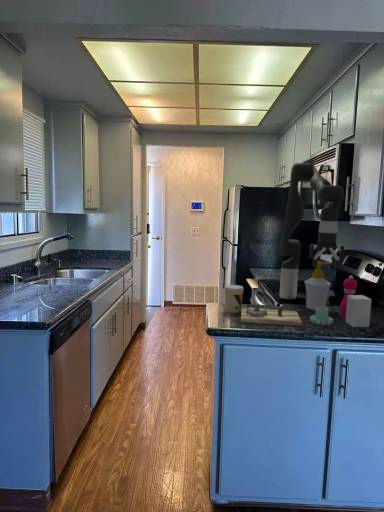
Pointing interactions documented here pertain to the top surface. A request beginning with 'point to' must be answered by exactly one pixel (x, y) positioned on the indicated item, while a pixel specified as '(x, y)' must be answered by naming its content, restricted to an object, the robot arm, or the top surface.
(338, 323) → the top surface
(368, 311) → the supplement box
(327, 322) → the planet gear
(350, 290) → the pepper mill
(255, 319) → the carrier
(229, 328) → the top surface
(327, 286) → the soap bottle
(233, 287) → the coffee cup
